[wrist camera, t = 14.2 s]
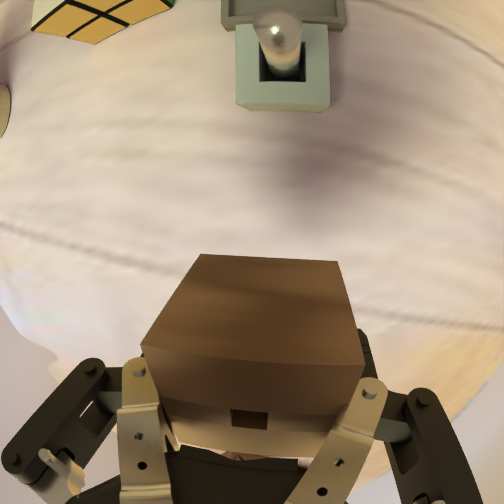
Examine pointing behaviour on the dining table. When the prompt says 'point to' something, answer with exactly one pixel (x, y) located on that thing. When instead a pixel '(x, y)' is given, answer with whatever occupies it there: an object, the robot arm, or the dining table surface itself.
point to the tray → (305, 3)
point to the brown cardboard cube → (256, 354)
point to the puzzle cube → (91, 17)
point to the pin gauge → (280, 39)
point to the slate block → (283, 93)
